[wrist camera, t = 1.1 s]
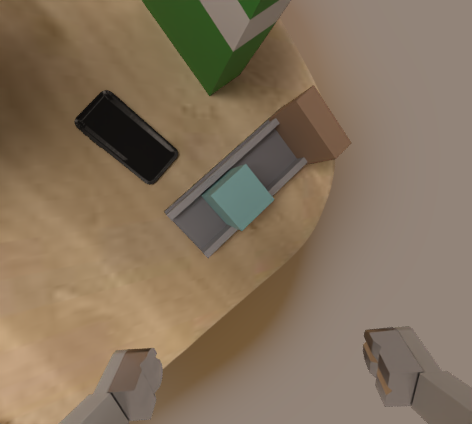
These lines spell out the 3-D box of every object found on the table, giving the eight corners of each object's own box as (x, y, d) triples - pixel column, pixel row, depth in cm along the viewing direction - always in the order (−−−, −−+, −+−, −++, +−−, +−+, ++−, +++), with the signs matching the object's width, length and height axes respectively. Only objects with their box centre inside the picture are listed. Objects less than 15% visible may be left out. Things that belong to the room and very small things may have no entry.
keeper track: (163, 211, 45) (165, 217, 34) (281, 107, 50) (315, 83, 39) (205, 254, 47) (219, 273, 36) (312, 152, 53) (353, 141, 42)
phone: (105, 87, 40) (180, 153, 44) (107, 89, 41) (180, 154, 45) (70, 123, 39) (150, 187, 43) (72, 125, 40) (150, 187, 44)
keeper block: (200, 195, 45) (210, 195, 36) (229, 169, 46) (245, 163, 37) (226, 224, 46) (241, 231, 38) (253, 198, 48) (274, 199, 39)
